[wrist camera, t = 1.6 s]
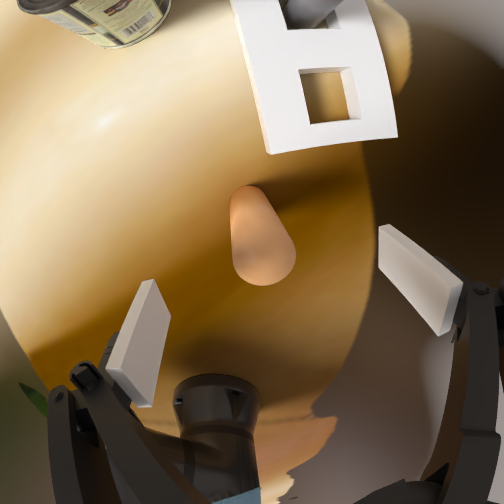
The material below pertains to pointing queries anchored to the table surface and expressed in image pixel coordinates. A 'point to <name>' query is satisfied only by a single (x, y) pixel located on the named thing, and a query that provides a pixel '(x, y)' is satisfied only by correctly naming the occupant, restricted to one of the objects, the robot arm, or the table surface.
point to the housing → (314, 61)
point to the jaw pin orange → (259, 238)
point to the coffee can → (103, 18)
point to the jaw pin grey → (307, 12)
